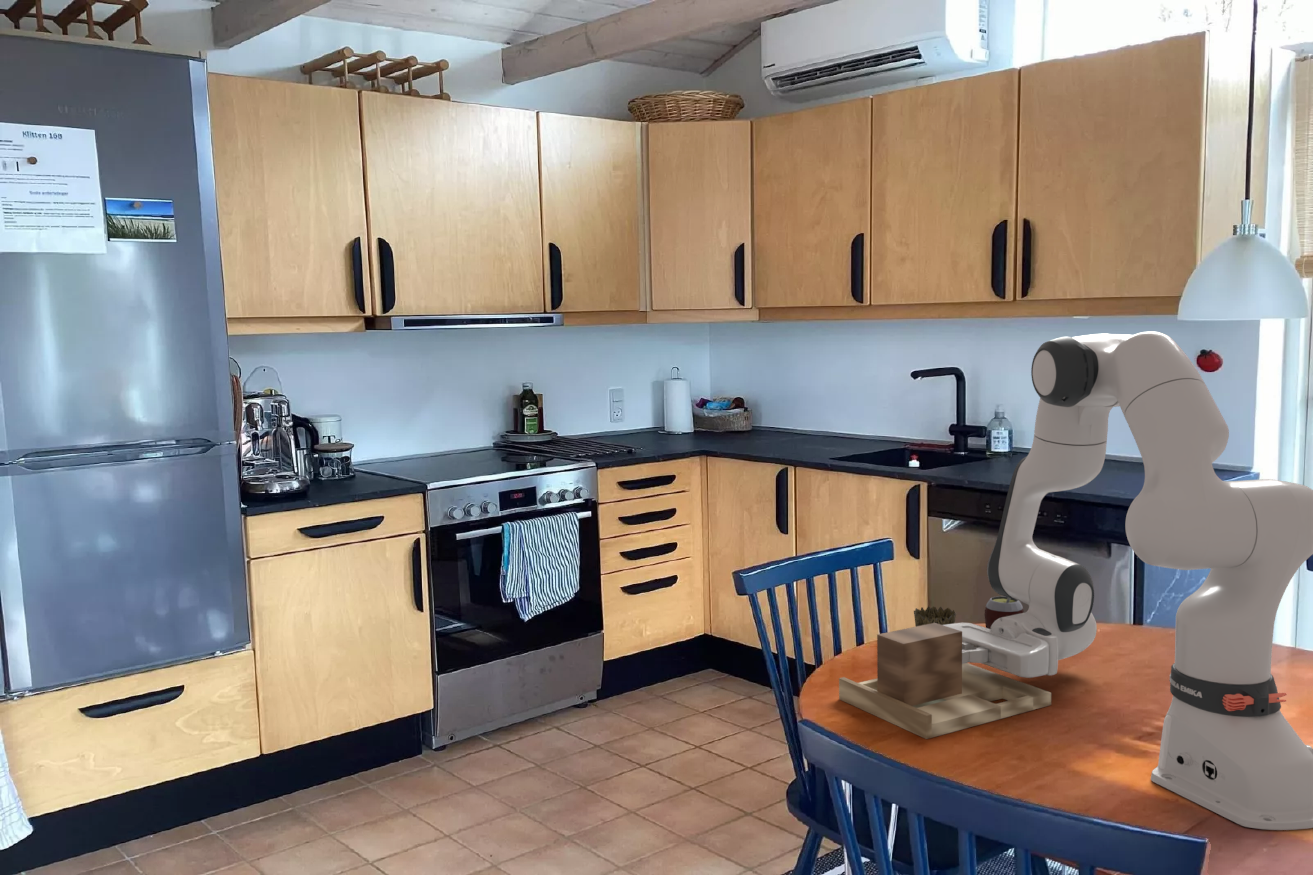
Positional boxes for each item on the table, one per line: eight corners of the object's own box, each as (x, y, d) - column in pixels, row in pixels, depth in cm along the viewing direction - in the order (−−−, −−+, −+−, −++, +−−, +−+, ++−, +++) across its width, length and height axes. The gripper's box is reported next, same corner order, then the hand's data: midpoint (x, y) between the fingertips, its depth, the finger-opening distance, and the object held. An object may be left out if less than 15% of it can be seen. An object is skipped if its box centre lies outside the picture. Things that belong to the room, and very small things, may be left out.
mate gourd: (988, 634, 206) (989, 557, 204) (1031, 638, 202) (1032, 561, 201) (980, 644, 199) (981, 565, 198) (1024, 649, 196) (1025, 569, 194)
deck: (957, 671, 184) (957, 651, 184) (1051, 705, 167) (1051, 683, 167) (839, 699, 172) (839, 678, 172) (926, 739, 154) (926, 715, 154)
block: (934, 682, 173) (934, 622, 172) (961, 693, 167) (962, 631, 166) (877, 696, 167) (877, 634, 166) (903, 708, 162) (903, 643, 161)
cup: (912, 647, 199) (912, 605, 198) (952, 648, 198) (952, 605, 197) (916, 659, 191) (916, 616, 190) (958, 660, 190) (958, 616, 189)
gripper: (969, 610, 185) (909, 622, 179) (1065, 638, 167) (1002, 653, 161) (968, 645, 186) (908, 658, 179) (1065, 677, 168) (1002, 693, 161)
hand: (954, 656), depth 170 cm, fingers closed
